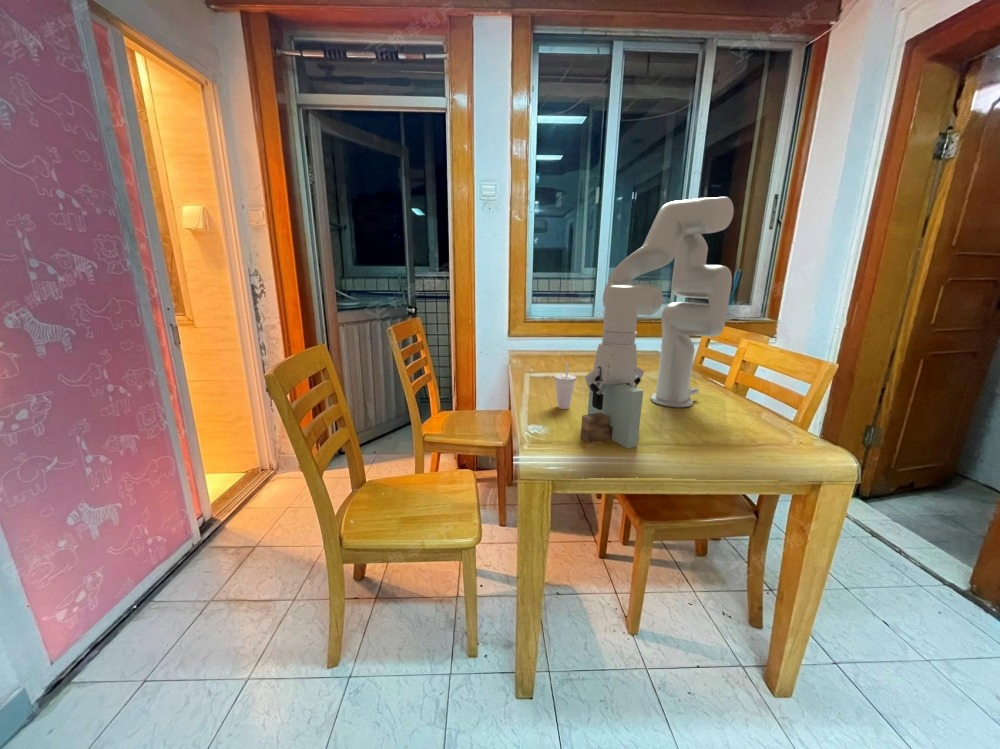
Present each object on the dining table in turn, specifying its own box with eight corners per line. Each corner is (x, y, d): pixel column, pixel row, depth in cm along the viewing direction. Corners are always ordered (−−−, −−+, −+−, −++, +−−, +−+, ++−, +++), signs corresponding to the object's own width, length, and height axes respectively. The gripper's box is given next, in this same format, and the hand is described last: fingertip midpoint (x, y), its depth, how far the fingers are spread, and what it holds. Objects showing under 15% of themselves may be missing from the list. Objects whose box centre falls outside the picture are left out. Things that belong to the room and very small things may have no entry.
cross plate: (586, 425, 109) (590, 375, 106) (595, 423, 110) (599, 374, 107) (627, 448, 95) (633, 392, 92) (637, 446, 96) (643, 390, 93)
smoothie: (563, 411, 119) (566, 366, 115) (548, 406, 124) (550, 361, 120) (578, 407, 123) (581, 363, 119) (563, 402, 128) (566, 359, 124)
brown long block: (630, 428, 107) (632, 407, 106) (638, 432, 105) (640, 410, 103) (580, 437, 101) (582, 415, 99) (587, 442, 98) (589, 419, 97)
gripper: (635, 333, 103) (629, 397, 108) (579, 337, 96) (575, 405, 101) (657, 338, 97) (650, 406, 101) (599, 342, 90) (593, 415, 94)
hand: (612, 405), depth 101 cm, fingers open, 9 cm apart
